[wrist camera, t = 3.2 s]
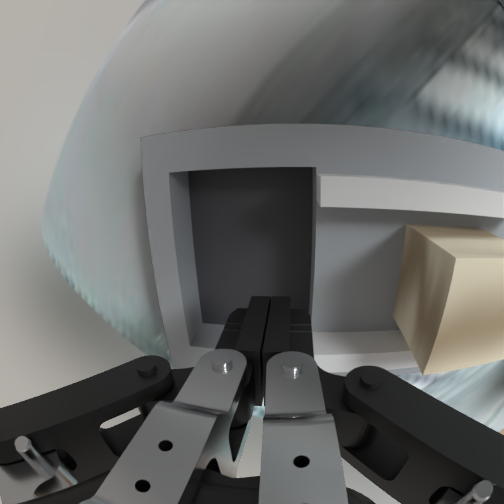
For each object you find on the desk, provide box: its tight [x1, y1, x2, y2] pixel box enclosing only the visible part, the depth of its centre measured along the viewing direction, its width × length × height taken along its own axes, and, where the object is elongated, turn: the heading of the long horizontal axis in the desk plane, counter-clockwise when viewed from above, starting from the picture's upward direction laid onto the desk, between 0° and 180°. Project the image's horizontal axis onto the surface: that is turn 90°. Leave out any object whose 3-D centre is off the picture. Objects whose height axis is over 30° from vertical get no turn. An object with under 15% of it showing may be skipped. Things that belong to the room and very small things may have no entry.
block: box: [392, 224, 504, 375], centre depth 10 cm, size 5×5×5 cm
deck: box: [141, 124, 504, 376], centre depth 13 cm, size 14×29×5 cm, turn 92°
